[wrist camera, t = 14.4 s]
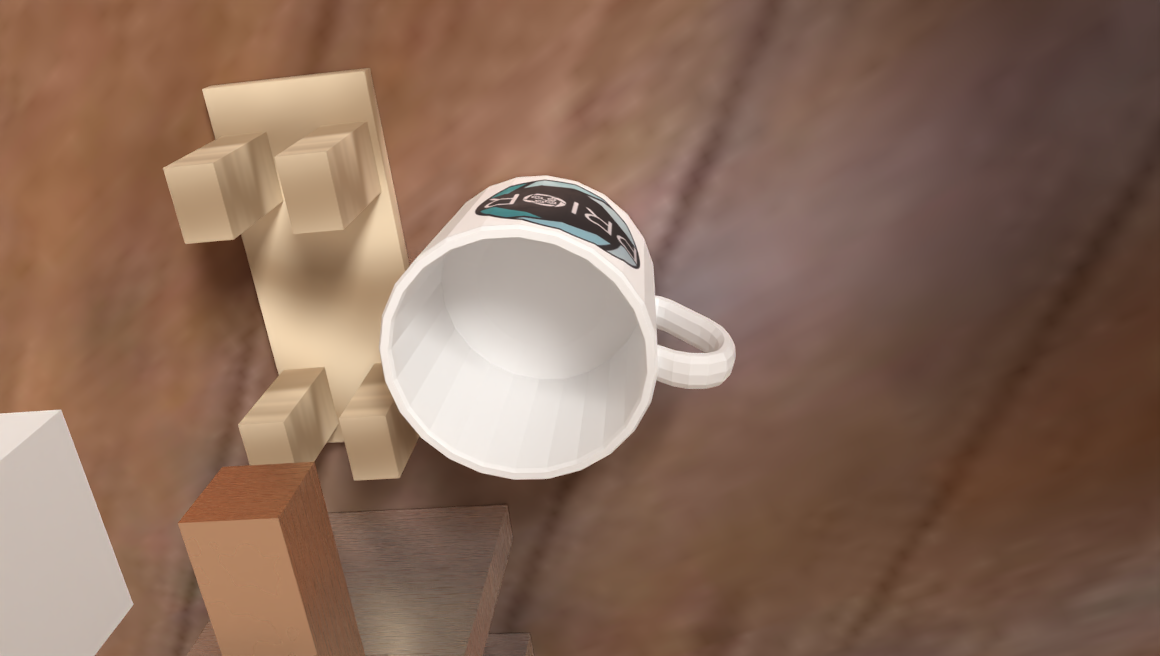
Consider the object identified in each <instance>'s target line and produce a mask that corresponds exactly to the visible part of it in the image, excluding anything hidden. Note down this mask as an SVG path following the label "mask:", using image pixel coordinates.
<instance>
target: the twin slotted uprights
mask: <svg viewBox="0 0 1160 656" xmlns="http://www.w3.org/2000/svg"><path fill="white" fill-rule="evenodd" d="M328 516H329V520H330V523H331V527H332V531H333V535H334V539H335V542H336V546H337V550H338V554H339V558H340V561H341V565H342V569H343V573H344V577H345V580H346V584H347V588H348V592H349V596H350V599H351V603H352V607H353V611H354V615H355V618H356V622H357V626H358V630H359V634H360V637H361V641H362V645H363V649H364V653H365V656H534V653H533V647H532V641H531V636H530V633H509V634H488V632H489V629H490V625H491V621H492V617H493V613H494V610H495V606H496V602H497V598H498V594H499V590H500V587H501V583H502V579H503V575H504V571H505V567H506V564H507V560H508V556H509V552H510V548H511V544H512V541H513V534H512V529H511V523H510V517H509V512H508V506H507V504H506V505H486V506H466V507H446V508H426V509H406V510H386V511H366V512H346V513H328ZM187 656H222V653H221V650H220V647H219V644H218V641H217V638H216V635H215V632H214V629H213V626H212V623H211V620H209V622H208V623H207V625H206V627H205V628H204V630H203V631H202V633H201V634H200V636H199V637H198V639H197V640H196V642H195V644H194V645H193V647H192V648H191V650H190V651H189V653H188V654H187Z"/></svg>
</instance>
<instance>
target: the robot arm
mask: <svg viewBox="0 0 1160 656" xmlns="http://www.w3.org/2000/svg"><path fill="white" fill-rule="evenodd" d="M132 606H133V602H132V600H131V597H130V594H129V592H128V589H127V586H126V583H125V581H124V578H123V575H122V573H121V570H120V567H119V565H118V562H117V559H116V556H115V554H114V551H113V548H112V546H111V543H110V540H109V538H108V535H107V532H106V529H105V527H104V524H103V521H102V519H101V516H100V513H99V511H98V508H97V505H96V503H95V500H94V497H93V494H92V492H91V489H90V486H89V484H88V481H87V478H86V476H85V473H84V470H83V467H82V465H81V462H80V459H79V457H78V454H77V451H76V449H75V446H74V443H73V440H72V438H71V435H70V432H69V430H68V427H67V424H66V422H65V419H64V416H63V414H62V411H61V410H48V411H33V412H18V413H3V414H0V656H95V654H96V653H97V652H98V650H99V649H100V648H101V646H102V645H103V644H104V643H105V641H106V640H107V639H108V637H109V636H110V635H111V633H112V632H113V631H114V629H115V628H116V627H117V626H118V624H119V623H120V622H121V620H122V619H123V618H124V616H125V615H126V614H127V613H128V611H129V610H130V609H131V607H132Z"/></svg>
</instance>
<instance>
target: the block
mask: <svg viewBox="0 0 1160 656" xmlns="http://www.w3.org/2000/svg"><path fill="white" fill-rule="evenodd" d="M178 525H179V528H180V531H181V534H182V537H183V540H184V543H185V546H186V549H187V552H188V555H189V558H190V561H191V564H192V567H193V570H194V573H195V576H196V579H197V582H198V585H199V588H200V591H201V594H202V597H203V600H204V603H205V606H206V609H207V612H208V615H209V617H210V620H211V623H212V626H213V629H214V632H215V635H216V638H217V641H218V644H219V647H220V650H221V653H222V656H365V653H364V649H363V645H362V641H361V637H360V634H359V630H358V626H357V622H356V618H355V615H354V611H353V607H352V603H351V599H350V596H349V592H348V588H347V584H346V580H345V577H344V573H343V569H342V565H341V561H340V558H339V554H338V550H337V546H336V542H335V539H334V535H333V531H332V527H331V523H330V520H329V516H328V512H327V508H326V504H325V500H324V497H323V493H322V489H321V485H320V481H319V478H318V474H317V470H316V466H315V462H300V463H283V464H266V465H248V466H231V467H222V468H221V469H220V471H219V472H218V473H217V475H216V476H215V477H214V478H213V480H212V481H211V482H210V483H209V485H208V486H207V487H206V488H205V490H204V491H203V492H202V493H201V495H200V496H199V497H198V498H197V500H196V501H195V502H194V504H193V505H192V506H191V507H190V509H189V510H188V511H187V512H186V514H185V515H184V516H183V517H182V519H181V520H180V521H179V522H178Z"/></svg>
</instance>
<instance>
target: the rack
mask: <svg viewBox="0 0 1160 656" xmlns="http://www.w3.org/2000/svg"><path fill="white" fill-rule="evenodd" d="M202 91H203V94H204V98H205V102H206V105H207V109H208V113H209V117H210V120H211V124H212V128H213V132H214V135H215V139H216V140H214V141H212V142H210V143H208V144H207V145H205V146H203V147H201V148H199V149H197V150H196V151H194V152H192V153H190V154H188V155H186V156H185V157H183V158H181V159H179V160H177V161H175V162H173V163H172V164H170V165H168V166H166V167H164V168H163V170H164V173H165V177H166V180H167V183H168V187H169V190H170V194H171V197H172V201H173V204H174V207H175V211H176V214H177V218H178V221H179V224H180V228H181V231H182V235H183V238H184V242H185V244H190V243H201V242H212V241H223V240H234V239H235V238H236V237H238V236H239V235H240V234H241V236H242V240H243V243H244V247H245V251H246V255H247V258H248V262H249V266H250V270H251V273H252V277H253V281H254V285H255V288H256V292H257V296H258V299H259V303H260V307H261V311H262V314H263V318H264V322H265V326H266V329H267V333H268V337H269V340H270V344H271V348H272V352H273V355H274V359H275V363H276V367H277V370H278V374H279V376H278V377H277V378H276V380H275V381H274V382H273V383H272V384H271V386H270V387H269V388H268V389H267V391H266V392H265V393H264V394H263V395H262V397H261V398H260V399H259V400H258V401H257V403H256V404H255V405H254V406H253V408H252V409H251V410H250V411H249V412H248V414H247V415H246V416H245V417H244V418H243V420H242V421H241V422H240V423H239V424H238V426H239V430H240V433H241V437H242V440H243V443H244V447H245V450H246V454H247V457H248V460H249V464H250V465H266V464H283V463H300V462H314V461H315V460H316V458H317V457H318V455H319V453H320V452H321V450H322V449H323V447H324V446H325V444H326V443H334V442H345V446H346V450H347V454H348V458H349V462H350V466H351V470H352V474H353V478H354V481H356V480H375V479H393V478H400V476H401V474H402V472H403V470H404V468H405V466H406V464H407V462H408V460H409V457H410V455H411V453H412V451H413V449H414V447H415V445H416V443H417V441H418V439H419V437H420V436H419V434H418V433H417V432H416V431H415V430H414V428H413V427H412V426H411V425H410V424H409V422H408V421H407V420H406V419H405V418H404V416H403V415H402V414H401V413H400V411H399V409H398V407H397V405H396V403H395V401H394V399H393V397H392V394H391V392H390V390H389V388H388V386H387V384H386V382H385V379H384V374H383V368H382V363H381V357H380V352H379V340H380V330H381V320H382V314H383V311H384V309H385V307H386V304H387V302H388V299H389V297H390V295H391V292H392V290H393V287H394V285H395V283H396V282H397V281H398V280H399V279H400V277H401V276H402V275H403V274H404V272H405V271H406V270H407V269H408V268H409V266H410V265H409V260H408V255H407V250H406V245H405V240H404V235H403V230H402V226H401V221H400V216H399V211H398V206H397V201H396V196H395V191H394V186H393V181H392V176H391V171H390V166H389V161H388V156H387V151H386V146H385V141H384V136H383V131H382V126H381V121H380V116H379V111H378V106H377V101H376V96H375V91H374V86H373V81H372V76H371V71H370V68H365V69H356V70H347V71H338V72H329V73H320V74H311V75H303V76H294V77H285V78H276V79H267V80H258V81H249V82H240V83H231V84H223V85H214V86H209V87H207V88H204V89H202Z"/></svg>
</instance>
